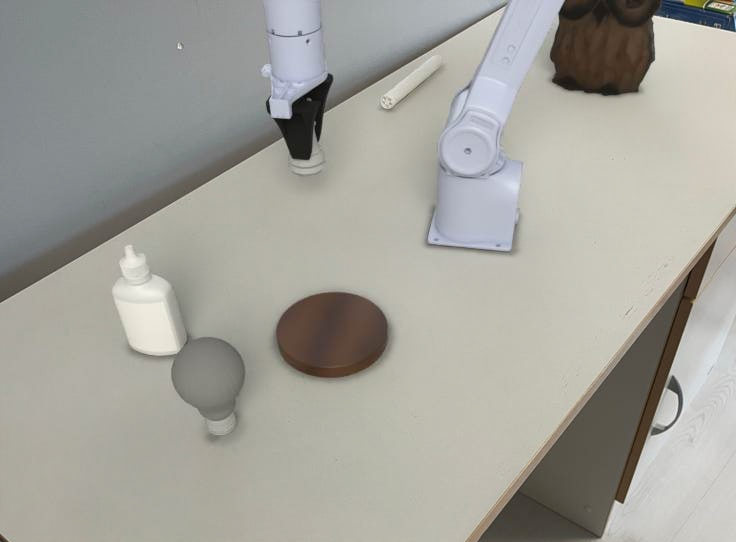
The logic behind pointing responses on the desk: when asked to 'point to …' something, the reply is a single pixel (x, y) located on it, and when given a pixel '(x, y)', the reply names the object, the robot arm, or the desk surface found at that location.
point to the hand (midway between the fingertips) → (306, 149)
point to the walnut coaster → (332, 334)
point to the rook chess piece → (311, 165)
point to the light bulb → (210, 380)
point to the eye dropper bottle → (147, 308)
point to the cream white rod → (411, 82)
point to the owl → (604, 45)
